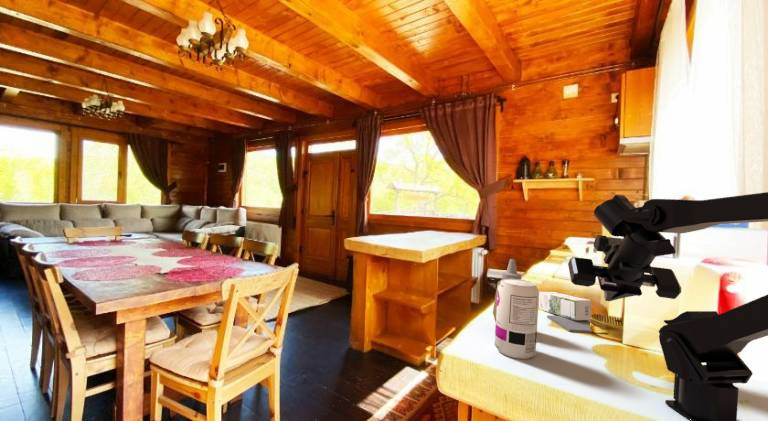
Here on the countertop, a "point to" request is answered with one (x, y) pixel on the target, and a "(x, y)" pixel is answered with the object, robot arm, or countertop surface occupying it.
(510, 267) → the squeeze bottle
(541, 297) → the syrup box
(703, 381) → the robot arm
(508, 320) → the supplement can
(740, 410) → the countertop surface
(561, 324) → the slate mat
